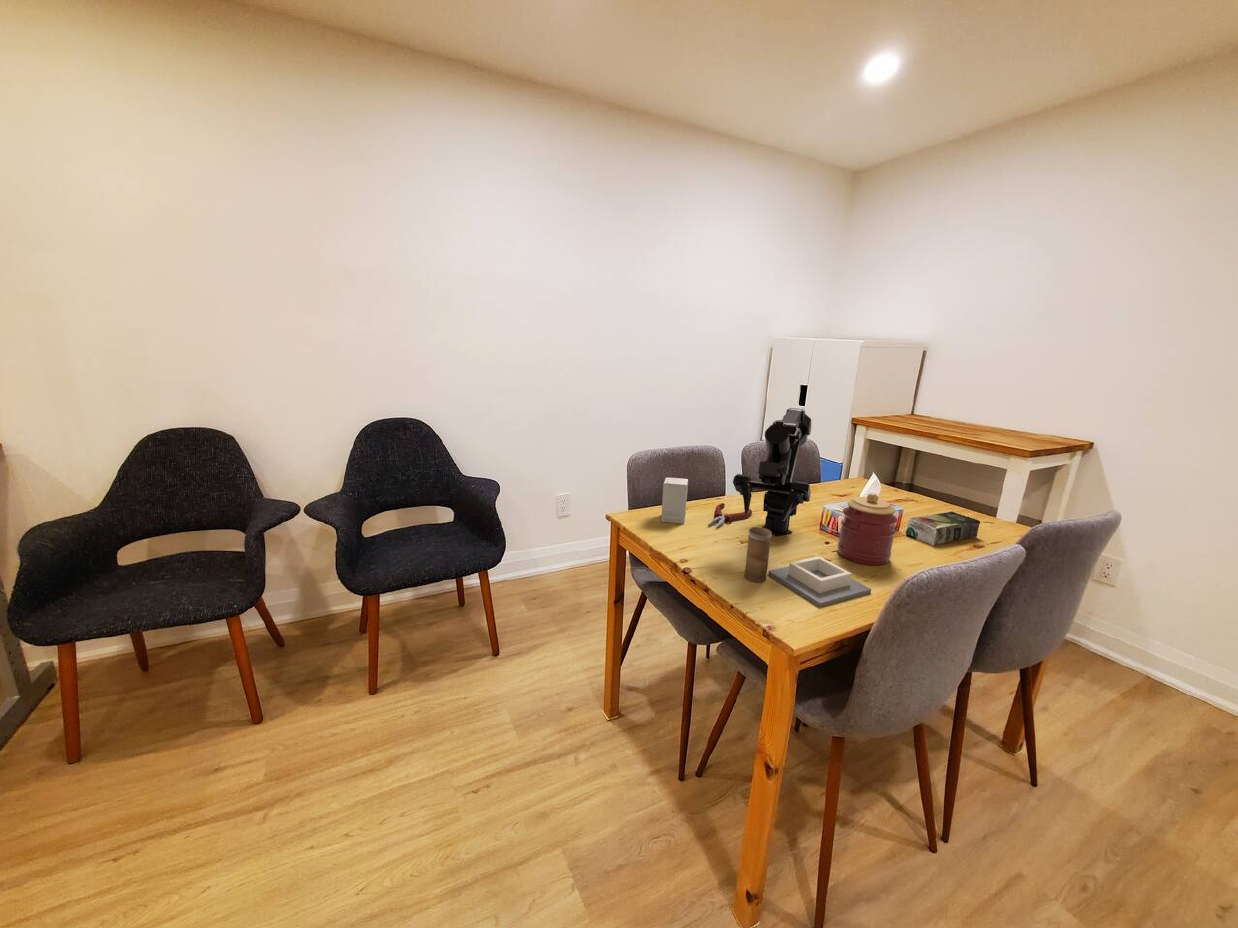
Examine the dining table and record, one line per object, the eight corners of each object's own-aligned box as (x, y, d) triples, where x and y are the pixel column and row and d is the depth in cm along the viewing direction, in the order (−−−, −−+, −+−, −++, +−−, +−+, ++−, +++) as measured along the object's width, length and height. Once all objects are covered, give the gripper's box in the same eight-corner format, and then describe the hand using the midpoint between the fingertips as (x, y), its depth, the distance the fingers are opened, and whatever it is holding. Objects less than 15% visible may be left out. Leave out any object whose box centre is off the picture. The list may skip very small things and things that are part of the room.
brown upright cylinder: (756, 571, 120) (761, 525, 117) (770, 580, 115) (776, 533, 112) (739, 574, 118) (744, 528, 115) (753, 584, 113) (759, 536, 110)
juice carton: (932, 547, 138) (936, 527, 136) (901, 535, 147) (904, 515, 145) (978, 539, 145) (982, 520, 144) (945, 528, 154) (949, 509, 153)
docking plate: (816, 563, 125) (818, 549, 124) (870, 592, 111) (873, 577, 110) (768, 574, 118) (769, 559, 117) (819, 607, 104) (822, 590, 103)
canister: (826, 549, 134) (835, 488, 130) (859, 542, 139) (869, 484, 135) (865, 569, 122) (877, 503, 118) (901, 562, 128) (913, 498, 123)
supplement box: (684, 524, 149) (687, 485, 146) (660, 521, 150) (662, 483, 147) (686, 516, 156) (688, 478, 153) (663, 513, 158) (665, 476, 154)
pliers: (694, 525, 150) (695, 517, 149) (720, 508, 166) (721, 501, 165) (729, 534, 143) (730, 526, 143) (752, 516, 160) (753, 508, 159)
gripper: (736, 444, 126) (721, 497, 119) (812, 451, 116) (800, 509, 110) (743, 465, 134) (730, 516, 128) (815, 473, 125) (804, 528, 119)
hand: (764, 517), depth 121 cm, fingers open, 9 cm apart
